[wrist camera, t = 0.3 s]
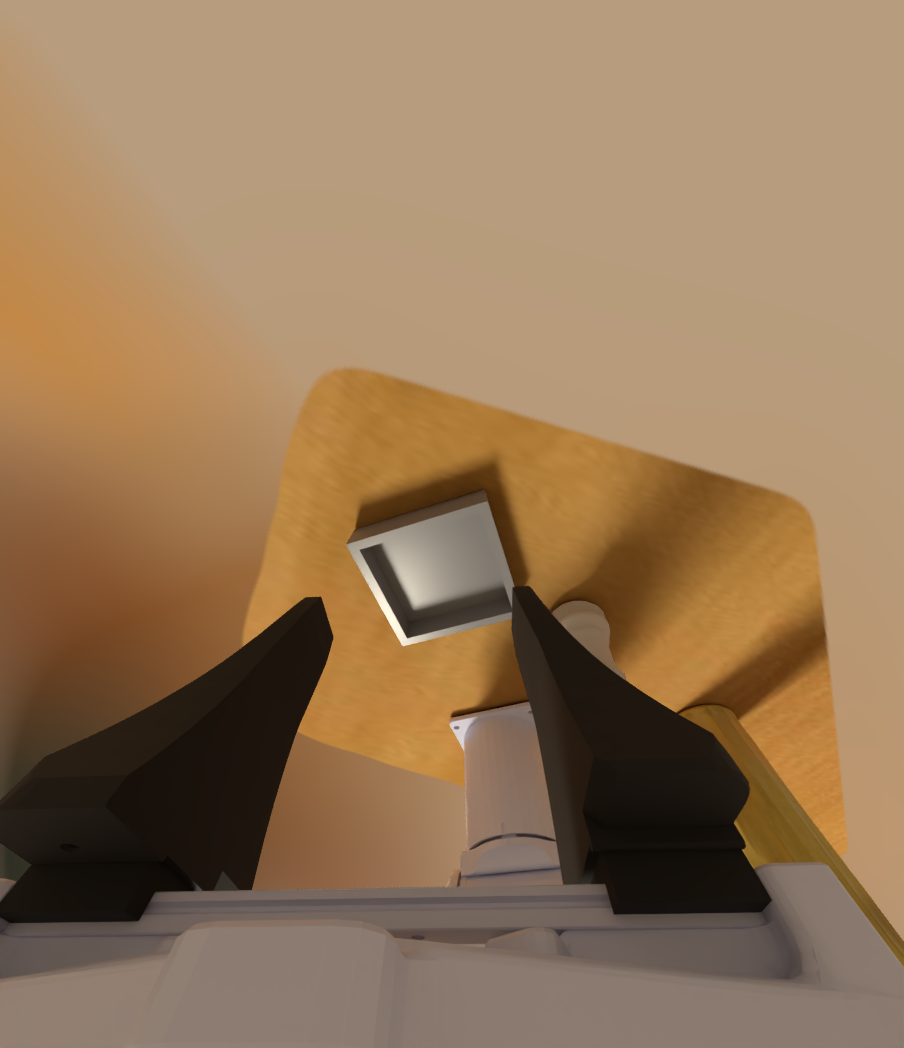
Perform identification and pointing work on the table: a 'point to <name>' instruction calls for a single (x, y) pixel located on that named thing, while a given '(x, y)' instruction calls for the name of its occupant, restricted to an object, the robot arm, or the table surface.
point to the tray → (437, 568)
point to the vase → (782, 817)
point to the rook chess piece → (588, 629)
